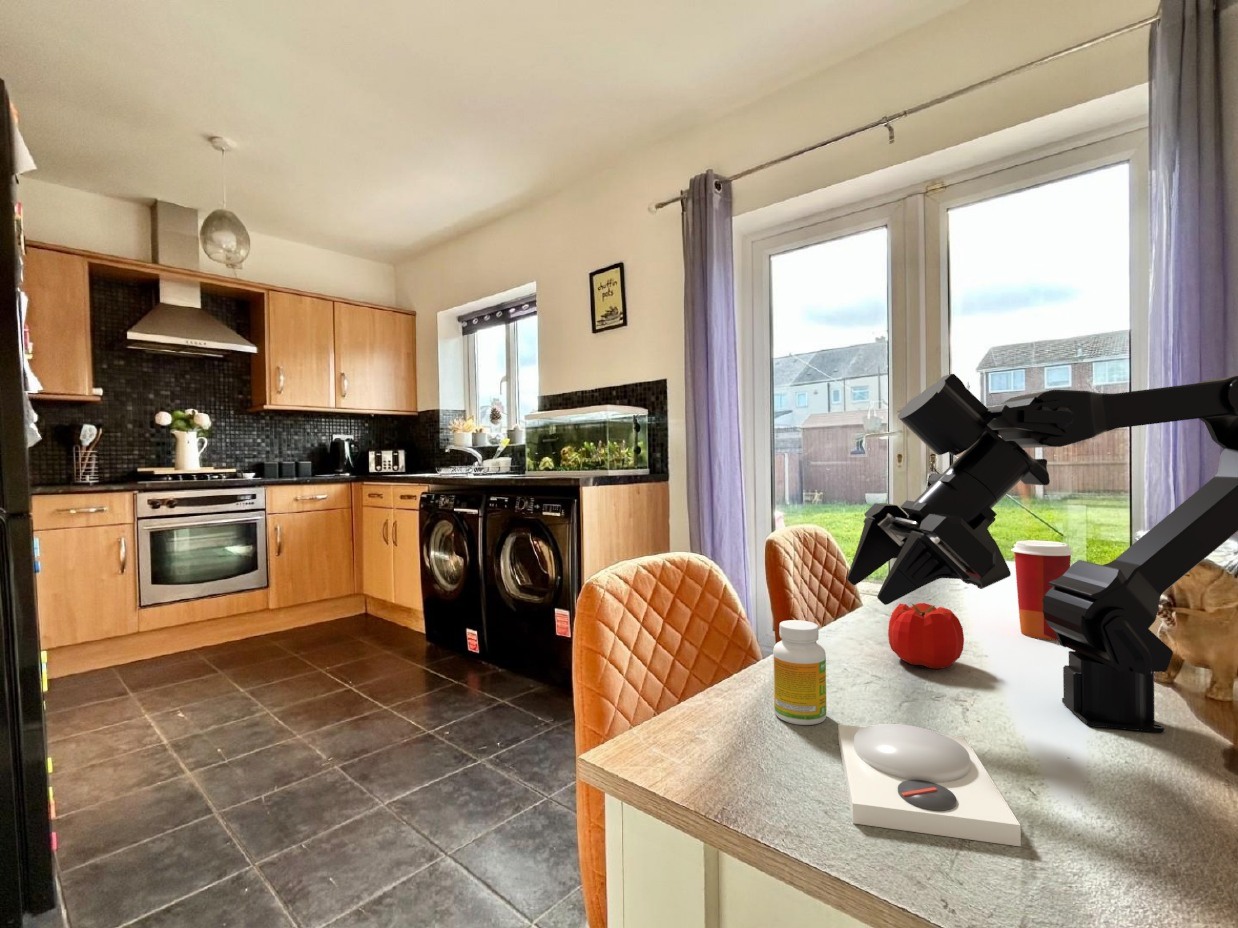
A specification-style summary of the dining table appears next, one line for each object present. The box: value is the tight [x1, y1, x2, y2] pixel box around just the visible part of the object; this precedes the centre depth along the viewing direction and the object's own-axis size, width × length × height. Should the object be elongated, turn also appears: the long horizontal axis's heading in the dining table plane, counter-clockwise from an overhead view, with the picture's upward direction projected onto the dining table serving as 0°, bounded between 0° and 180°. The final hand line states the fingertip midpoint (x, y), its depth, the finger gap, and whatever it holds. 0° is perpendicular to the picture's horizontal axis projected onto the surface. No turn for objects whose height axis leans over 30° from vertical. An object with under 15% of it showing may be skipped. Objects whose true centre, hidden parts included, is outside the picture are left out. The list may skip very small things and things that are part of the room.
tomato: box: [887, 602, 965, 670], centre depth 81 cm, size 9×9×8 cm
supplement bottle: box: [772, 619, 827, 726], centre depth 65 cm, size 5×5×10 cm
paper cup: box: [1010, 539, 1074, 641], centre depth 93 cm, size 8×8×14 cm
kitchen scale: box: [837, 723, 1022, 847], centre depth 51 cm, size 11×14×2 cm
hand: (864, 591), depth 64 cm, fingers open, 9 cm apart
